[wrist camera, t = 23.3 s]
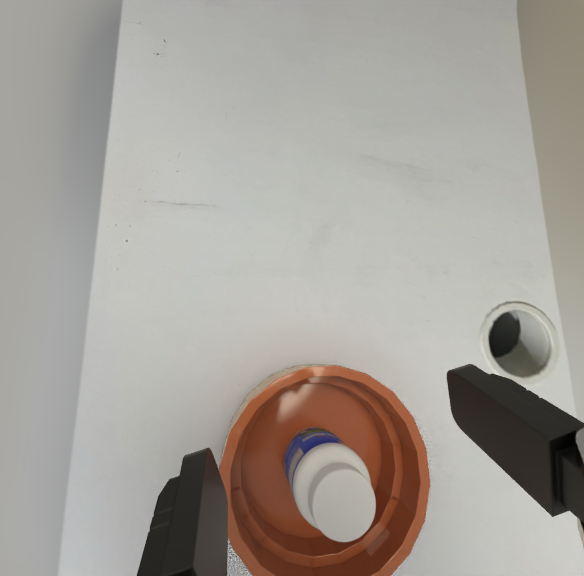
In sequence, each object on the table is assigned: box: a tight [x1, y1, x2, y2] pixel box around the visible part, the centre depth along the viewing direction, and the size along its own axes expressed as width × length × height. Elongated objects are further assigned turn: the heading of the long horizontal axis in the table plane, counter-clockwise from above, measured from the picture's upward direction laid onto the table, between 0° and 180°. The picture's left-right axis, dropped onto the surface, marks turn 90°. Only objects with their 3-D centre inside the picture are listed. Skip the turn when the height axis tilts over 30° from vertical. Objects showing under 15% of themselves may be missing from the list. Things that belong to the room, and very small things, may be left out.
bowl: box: [219, 365, 430, 576], centre depth 27 cm, size 16×16×6 cm
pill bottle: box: [283, 426, 376, 542], centre depth 24 cm, size 5×5×10 cm
